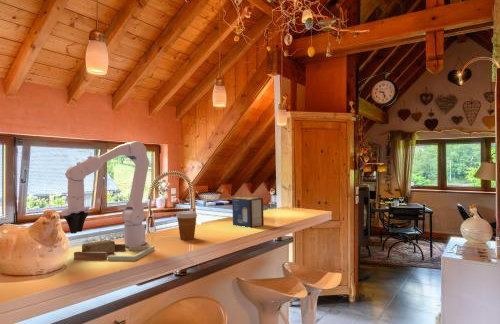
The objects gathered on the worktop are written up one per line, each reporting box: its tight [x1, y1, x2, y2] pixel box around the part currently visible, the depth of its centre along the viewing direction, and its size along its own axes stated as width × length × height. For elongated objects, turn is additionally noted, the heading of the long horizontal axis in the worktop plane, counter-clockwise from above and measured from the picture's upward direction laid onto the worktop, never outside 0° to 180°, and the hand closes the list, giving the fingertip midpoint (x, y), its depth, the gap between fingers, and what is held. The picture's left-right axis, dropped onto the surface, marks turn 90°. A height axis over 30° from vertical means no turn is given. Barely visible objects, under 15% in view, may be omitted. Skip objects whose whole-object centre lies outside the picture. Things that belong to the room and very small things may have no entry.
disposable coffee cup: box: [176, 211, 198, 241], centre depth 165 cm, size 10×10×12 cm
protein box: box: [231, 196, 265, 228], centre depth 202 cm, size 10×15×16 cm
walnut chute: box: [73, 243, 126, 261], centre depth 136 cm, size 15×12×2 cm
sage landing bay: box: [107, 245, 156, 262], centre depth 135 cm, size 17×10×2 cm, turn 173°
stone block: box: [81, 239, 116, 255], centre depth 137 cm, size 6×12×5 cm, turn 134°
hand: (76, 232), depth 138 cm, fingers open, 3 cm apart
